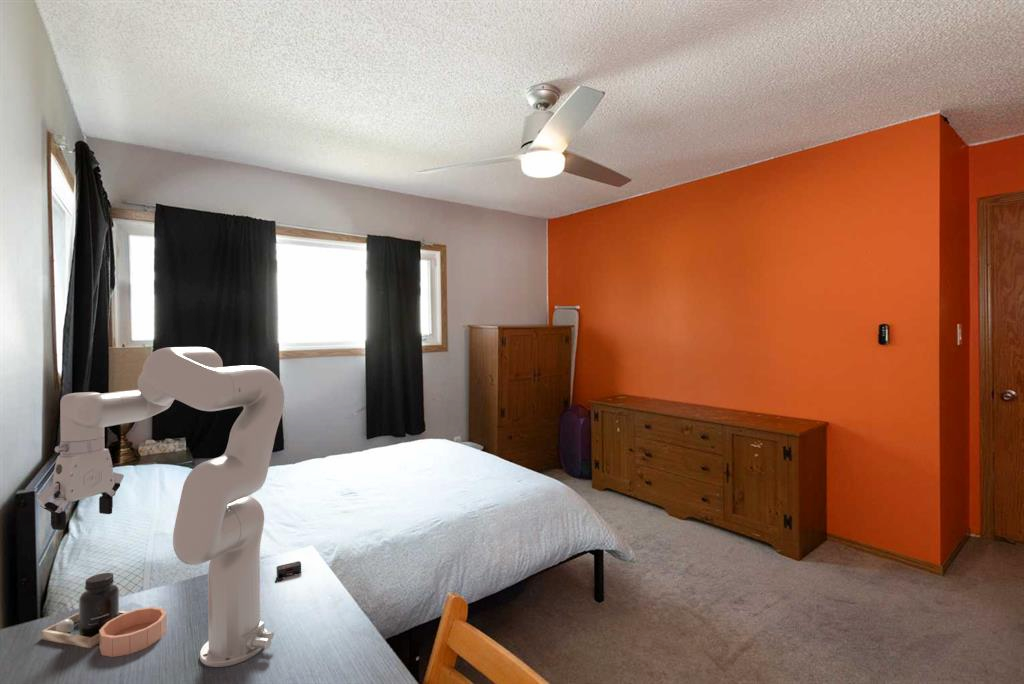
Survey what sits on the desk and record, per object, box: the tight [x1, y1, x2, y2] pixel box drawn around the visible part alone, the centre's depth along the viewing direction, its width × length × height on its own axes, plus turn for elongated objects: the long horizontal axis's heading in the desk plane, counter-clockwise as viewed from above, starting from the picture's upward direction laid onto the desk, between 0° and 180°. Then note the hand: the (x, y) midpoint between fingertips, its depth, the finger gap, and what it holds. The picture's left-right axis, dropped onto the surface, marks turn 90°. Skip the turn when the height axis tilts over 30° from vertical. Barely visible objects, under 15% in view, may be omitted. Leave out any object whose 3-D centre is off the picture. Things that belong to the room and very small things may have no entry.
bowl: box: [98, 606, 167, 658], centre depth 105 cm, size 11×11×4 cm
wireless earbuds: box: [274, 560, 302, 584], centre depth 132 cm, size 4×7×3 cm, turn 121°
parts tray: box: [40, 610, 128, 649], centre depth 108 cm, size 14×10×2 cm
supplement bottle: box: [78, 572, 120, 637], centre depth 108 cm, size 7×7×12 cm
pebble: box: [55, 618, 75, 634], centre depth 107 cm, size 3×3×3 cm
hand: (83, 521), depth 110 cm, fingers open, 9 cm apart
